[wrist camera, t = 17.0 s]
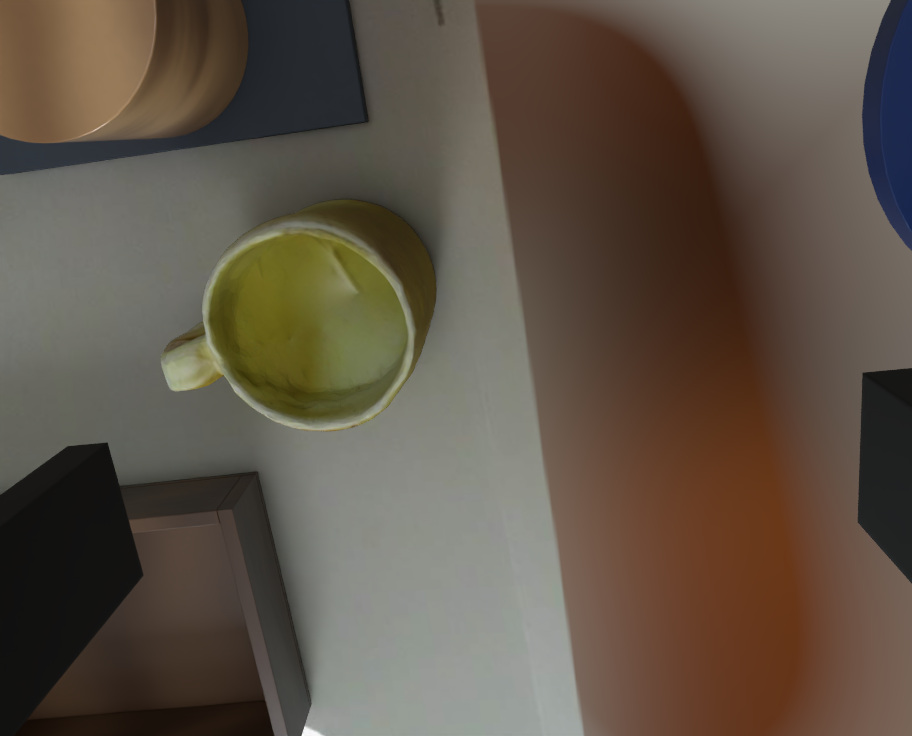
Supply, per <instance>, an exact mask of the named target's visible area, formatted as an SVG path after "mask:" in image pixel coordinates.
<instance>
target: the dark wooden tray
mask: <svg viewBox="0 0 912 736" xmlns="http://www.w3.org/2000/svg"><path fill="white" fill-rule="evenodd" d="M120 490H121V494H122V497H123V501H124V505H125V508H126V512H127V516H128V519H129V523H130V527H131V530H132V534H133V538H134V541H135V545H136V549H137V552H138V556H139V560H140V563H141V567H142V571H143V574H144V576H143V577H142V578H141V579H140V581H139V582H138V583H137V584H136V586H135V587H134V588H133V589H132V591H131V592H130V593H129V594H128V595H127V597H126V598H125V599H124V600H123V602H122V603H121V604H120V605H119V607H118V608H117V609H116V610H115V612H114V613H113V614H112V615H111V616H110V618H109V619H108V620H107V621H106V623H105V624H104V625H103V626H102V628H101V629H100V630H99V631H98V633H97V634H96V635H95V636H94V637H93V639H92V640H91V641H90V642H89V644H88V645H87V646H86V647H85V649H84V650H83V651H82V652H81V653H80V655H79V656H78V657H77V658H76V660H75V661H74V662H73V663H72V665H71V666H70V667H69V668H68V670H67V671H66V672H65V673H64V674H63V676H62V677H61V678H60V679H59V681H58V682H57V683H56V684H55V686H54V687H53V688H52V689H51V691H50V692H49V693H48V694H47V695H46V697H45V698H44V699H43V700H42V702H41V703H40V704H39V705H38V707H37V708H36V709H35V710H34V712H33V713H32V714H31V715H30V716H29V718H28V719H27V720H26V721H25V723H24V724H23V725H22V726H21V728H20V729H19V730H18V731H17V732H16V734H15V735H14V736H301V735H302V732H303V729H304V726H305V722H306V719H307V716H308V713H309V710H310V707H311V700H310V696H309V692H308V687H307V683H306V679H305V675H304V670H303V666H302V662H301V657H300V653H299V649H298V645H297V640H296V636H295V632H294V627H293V623H292V619H291V614H290V610H289V606H288V602H287V597H286V593H285V589H284V584H283V580H282V576H281V572H280V567H279V563H278V559H277V554H276V550H275V546H274V542H273V537H272V533H271V529H270V524H269V520H268V516H267V512H266V507H265V503H264V499H263V494H262V490H261V486H260V482H259V477H258V473H257V472H251V473H242V474H232V475H223V476H214V477H205V478H195V479H186V480H177V481H167V482H158V483H149V484H140V485H130V486H121V487H120Z"/></svg>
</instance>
